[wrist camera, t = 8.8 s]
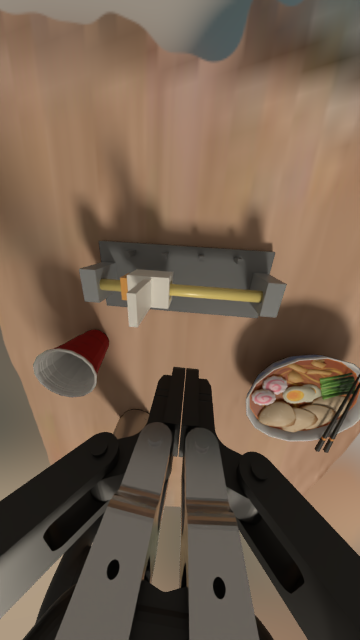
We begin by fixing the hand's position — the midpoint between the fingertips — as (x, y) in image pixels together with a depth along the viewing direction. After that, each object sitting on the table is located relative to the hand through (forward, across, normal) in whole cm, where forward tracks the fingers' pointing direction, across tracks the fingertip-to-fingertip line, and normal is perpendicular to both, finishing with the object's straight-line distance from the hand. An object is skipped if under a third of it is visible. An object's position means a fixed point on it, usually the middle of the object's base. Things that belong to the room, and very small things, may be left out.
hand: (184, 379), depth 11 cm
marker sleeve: (+21, +6, 0) cm, 22 cm away
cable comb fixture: (+26, +2, 0) cm, 26 cm away
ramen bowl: (+26, -24, +21) cm, 41 cm away
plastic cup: (+26, +21, +15) cm, 37 cm away
